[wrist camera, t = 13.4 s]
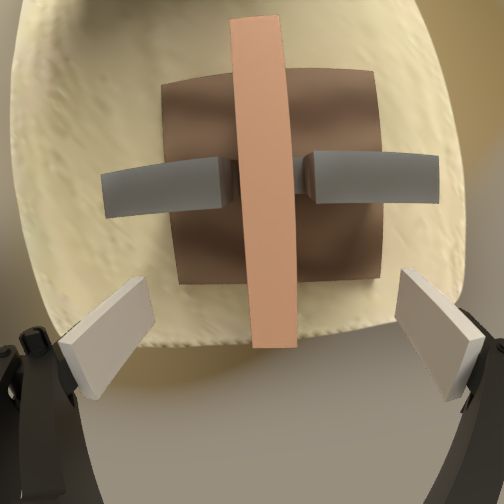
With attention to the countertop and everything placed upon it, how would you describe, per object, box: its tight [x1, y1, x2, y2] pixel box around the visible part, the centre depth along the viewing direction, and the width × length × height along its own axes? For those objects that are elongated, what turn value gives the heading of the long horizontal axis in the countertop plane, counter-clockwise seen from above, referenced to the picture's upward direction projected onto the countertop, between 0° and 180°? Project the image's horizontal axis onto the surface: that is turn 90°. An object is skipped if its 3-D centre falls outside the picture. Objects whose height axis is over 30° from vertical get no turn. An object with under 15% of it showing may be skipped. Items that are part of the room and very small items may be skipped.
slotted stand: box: [101, 68, 439, 284], centre depth 20 cm, size 20×20×14 cm
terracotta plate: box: [230, 15, 297, 348], centre depth 19 cm, size 18×2×12 cm, turn 4°
